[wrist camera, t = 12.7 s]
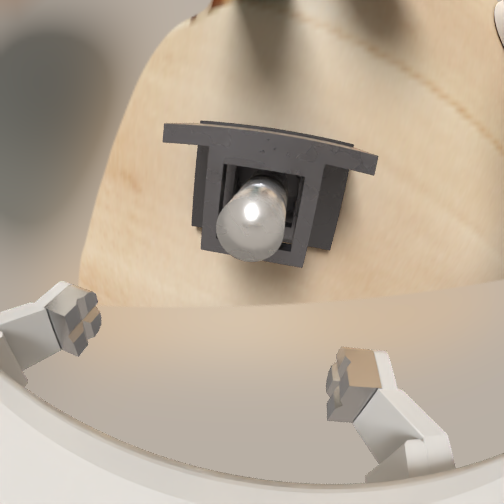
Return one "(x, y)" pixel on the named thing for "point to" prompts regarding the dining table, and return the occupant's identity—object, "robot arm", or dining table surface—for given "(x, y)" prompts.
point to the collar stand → (274, 159)
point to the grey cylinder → (255, 217)
